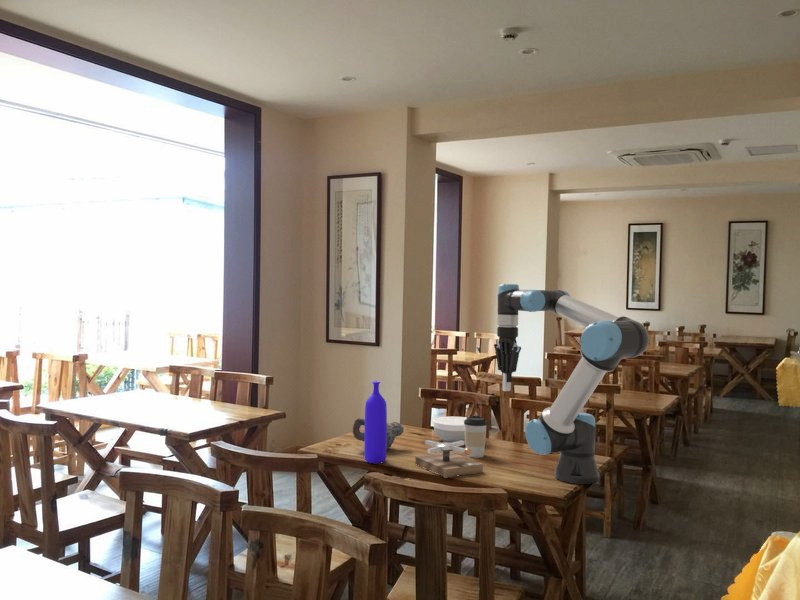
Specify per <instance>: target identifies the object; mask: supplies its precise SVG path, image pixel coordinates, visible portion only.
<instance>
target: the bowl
mask: <svg viewBox="0 0 800 600" xmlns="http://www.w3.org/2000/svg"><path fill="white" fill-rule="evenodd" d="M467 418H468V416H467V417H465V416H448V415H447V416H440V417H435V418H433V420H432V426H433V430H434V432H435V434H436V435H437V437H438V438H439V439H441V441H442V443H453V442H457V441H461V440H462V441H464V444H465V432H464V429H465V425H464V420H466V419H467Z"/></svg>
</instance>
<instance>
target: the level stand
mask: <svg viewBox="0 0 800 600" xmlns="http://www.w3.org/2000/svg"><path fill="white" fill-rule="evenodd" d="M414 459H415V462H414V463H415V464H417V465H419V466H418V467H420V466H421V467H420V468H422V467H424V468H426V469H428V470H431V471H433V472H436V473H438V474H440V475H442V476H443V477H442V476H441V477H442V478H444V479H449V478H448V477H450V478H452V477H451V476H457V475H463V476H467V475H466V474H469V475H474V474H480V473H483V472H484V471H483V469H484V464H483V463H481V462H478V461H475V460H474V459H471V458H470V457H467V456H463V455H461V454H459V453H457V452H456V453H455V452H454V451H442V452H437V453H431V454H430V453H429V454H423V455H417V456H415V458H414ZM417 465H416V466H417ZM424 468H423V469H424ZM426 469H425V470H426ZM428 470H427V471H428ZM431 471H430V472H431ZM433 472H432V473H433ZM457 477H458V476H457Z"/></svg>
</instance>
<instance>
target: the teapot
mask: <svg viewBox="0 0 800 600" xmlns="http://www.w3.org/2000/svg"><path fill="white" fill-rule="evenodd" d="M361 426H364V427H365V417H358V418H356V419H354V422H353V426H352V434H353V436H354V438H355V439H356V440H357V441H361V442H364V439H365V431H364V432H363V431H362V432H361V431H360V428H361ZM404 431H405V428H404V426H403V425H402V424H401V423H400V422H398V421H391V422H387V438H386V450H388V449H389V448H391V447H392V444H393V443H394V442H395V439H396V438H397V437H399V436H400V437H401V436H402V434H403V433H404Z"/></svg>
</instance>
